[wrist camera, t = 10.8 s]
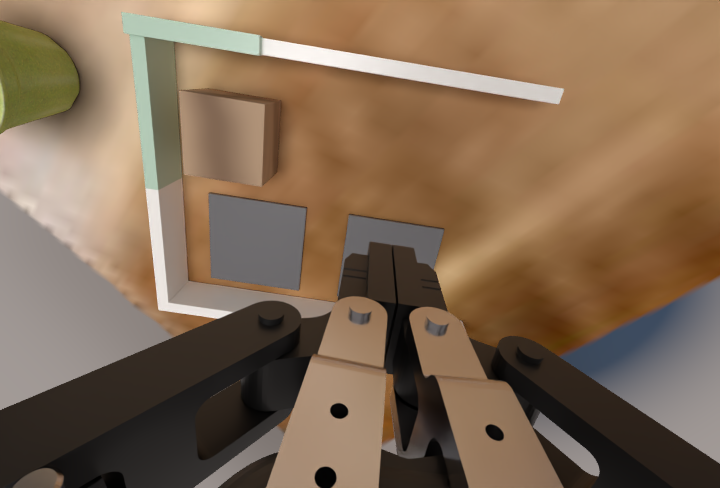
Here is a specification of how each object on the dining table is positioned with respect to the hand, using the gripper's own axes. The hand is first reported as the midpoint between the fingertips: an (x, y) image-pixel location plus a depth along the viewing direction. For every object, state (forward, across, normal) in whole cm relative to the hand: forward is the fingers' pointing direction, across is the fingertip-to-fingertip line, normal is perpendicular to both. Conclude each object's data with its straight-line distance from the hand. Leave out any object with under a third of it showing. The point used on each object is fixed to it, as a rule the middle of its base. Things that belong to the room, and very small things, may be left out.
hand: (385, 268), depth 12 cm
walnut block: (+21, +12, 0) cm, 24 cm away
